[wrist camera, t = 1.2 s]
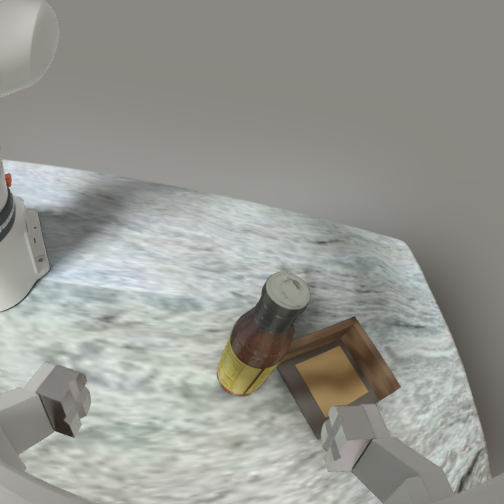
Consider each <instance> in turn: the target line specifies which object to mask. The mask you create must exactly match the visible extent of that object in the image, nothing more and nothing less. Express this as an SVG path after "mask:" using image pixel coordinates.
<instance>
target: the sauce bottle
mask: <svg viewBox="0 0 504 504" xmlns="http://www.w3.org/2000/svg"><path fill="white" fill-rule="evenodd" d="M309 300H310V290H309V288H308V286H307V285H306V283H305V282H304V281H303V280H302V279H300V278H299V277H297V276H295V275H293V274H291V273H288V272H277V273H275V274H273V275H271V276H270V277H269V278H268V279H267V281H266V283H265V284H264V286H263V288H262V296H261V298H260V300H259V302H258V303H257V304H256V306H255V307H254V308H252V309H251V310H250V311H248V312H247V313H245V314H244V315H242V316H241V317H240V318H239V319H238V321H237V322H236V323H235V325H234V327H233V330H232V332H231V335H230V337H229V340H228V342H227V345H226V347H225V350H224V352H223V354H222V357H221V359H220V361H219V364H218V369H217V378H218V381H219V383H220V385H221V386H222V387H223V389H224V390H225V391H226V392H228V393H230V394H232V395H236V396H247V395H249V394H251V393H253V392H254V391H256V390H257V389H259V388H260V387H261V385H262V384H263V383H264V382H265V380H266V379H267V378H268V377H269V375H270V374H271V373H272V372H273V370H274V369H275V368H276V367H277V365H278V364H279V363H280V362H281V360H282V359H283V358H284V356H285V354H286V352H287V351H288V350H289V348H290V346H291V343H292V337H293V334H294V331H295V329H294V325H293V323H294V321H295V319H296V317H297V316H298V315H299V314H301V313H302V312H303V311H304V310H305V308H306V307H307V305H308V303H309Z"/></svg>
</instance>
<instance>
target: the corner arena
mask: <svg viewBox="0 0 504 504" xmlns="http://www.w3.org/2000/svg"><path fill="white" fill-rule="evenodd" d="M277 368H278V370H279V372H280V374H281V376H282V377H283V379H284V381H285V383H286V385H287V386H288V388H289V390H290V392H291V394H292V395H293V397H294V399H295V401H296V403H297V404H298V406H299V408H300V410H301V411H302V413H303V415H304V417H305V418H306V420H307V422H308V424H309V425H310V427H311V429H312V431H313V432H314V434H315V436H316V438H317V439H321V431H322V427H323V424H324V422H325V421H327V420H328V419H329V415H328V413H329V410H330V408H331V407H332V406H338V405H362V404H376V403H377V402H378V401H380V400H381V399H383V398H385V397H386V396H388V395H390V394H391V393H393V392H394V391H396V390H397V389H399V388H400V387H401V386H400V385H399V383H398V381H397V380H396V378H395V377H394V375H393V374H392V372H391V370H390V369H389V367H388V366H387V364H386V363H385V361H384V360H383V358H382V357H381V355H380V354H379V352H378V351H377V349H376V347H375V346H374V344H373V343H372V341H371V340H370V338H369V337H368V335H367V334H366V332H365V331H364V329H363V328H362V327H361V325H360V324H359V322H358V321H357V319H356V318H355V316H354V317H352V318H350V319H347V320H345V321H342V322H340V323H337V324H335V325H332V326H330V327H327V328H325V329H322V330H319V331H317V332H314V333H311V334H309V335H306V336H303V337H301V338H298V339H295V340H292V343H291V346H290V348H289V350H288V351H287V352H286V354H285V356H284V358H283V359H282V360H281V362H280V363H279V364H278V365H277Z"/></svg>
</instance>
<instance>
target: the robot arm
mask: <svg viewBox="0 0 504 504" xmlns="http://www.w3.org/2000/svg"><path fill="white" fill-rule="evenodd" d="M58 42H59V24H58V20H57V17H56V15H55V12H54V11H53V9H52V8H51V6H50V5H49V4H48V3H47V2H46V1H44V0H0V97H3V96H6V95H8V94H11V93H14V92H16V91H18V90H21V89H24V88H26V87H28V86H31V85H34V84H36V83H37V82H38V81H39V80H40V78H41V77H42V76H43V74H44V73H45V72H46V70H47V69H48V67H49V66H50V64H51V62H52V60H53V58H54V56H55V53H56V50H57V46H58ZM10 186H11V174H10V173H8V174H4V168H3V162H2V156H1V148H0V311H3V310H6V309H9V308H11V307H12V306H14V305H16V304H17V303H18V302H20V301H21V300H22V299H23V298H24V297H25V296H26V295H27V294H28V292H29V291H30V290H31V288H32V286H33V285H34V283H35V282H36V281H37V280H38V279H40V278H41V277H42V276H44V275H45V274H46V273H47V272H48V271H49V269H50V265H49V261H48V257H47V253H46V249H45V245H44V240H43V236H42V231H41V226H40V221H39V216H38V213H37V212H36V211H34V210H31V209H26V208H25V204H24V200H23V199H22V198H20V197H18V196H13V195H12V193H11V192H10V189H9V188H8V187H10ZM40 261H42V262H40ZM86 382H87V380H86V376H85V374H84V373H82V372H79V371H75V370H72V369H69V368H66V367H63V366H61V365H57V364H54V363H51V362H49V361H47V362H44V363H43V364H42V365H41V367H40V368H39V369H38V370H37V371H36V373H35V374H34V375H33V376H32V378H31V379H30V380H29V382H28V383H27V384H26V385H25V387H24V388H22V387H19V388H16V389H13V390H11V391H8V392H5V393H3V394H0V504H102V503H99V502H96V501H93V500H90V499H87V498H84V497H81V496H79V495H76V494H73V493H71V492H68V491H66V490H63V489H61V488H59V487H56V486H54V485H52V484H49V483H47V482H45V481H43V480H41V479H39V478H37V477H35V476H32V475H30V474H28V473H27V472H25V469H26V467H25V464H24V463H23V461H22V460H21V458H20V457H19V454H20V453H22V452H23V451H25V450H27V449H28V448H30V447H31V446H33V445H35V444H36V443H38V442H39V441H41V440H42V439H44V438H46V437H47V436H49V435H50V434H52V433H53V432H54V431H56V432H59V433H62V434H64V435H67V436H70V437H73V438H75V437H76V435H77V433H78V431H79V429H80V427H81V425H82V424H81V421H80V419H81V418H83V417H85V416H86V415H87V413H88V411H89V408H90V403H91V396H90V392H89V390H88V389H87V388H86V387H85V384H86ZM328 415H329V419H328V420H327V421H325V422H324V424H323V427H322V431H321V443H322V447H323V448H324V449H325V450H326V451H328V452H327V453H326V455H325V461H326V465H327V469H328V472H337V471H351V470H352V471H351V472H352V473H353V474H354V475H355V476H356V477H357V478H358V479H359V480H360V481H361V482H362V483H363V484H364V485H365V486H366V487H367V488H368V489H369V490H370V491H371V492H372V493H373V494H374V495H375V496H376V497H377V498H378V499H379V500H380V501H381V502H382V503H383V504H504V473H502V474H500V475H499V476H497V477H494V478H492V479H490V480H488V481H486V482H484V483H482V484H480V485H477V486H475V487H473V488H470V489H468V490H466V491H463V492H461V493H458V494H456V495H455V494H454V492H453V490H452V488H451V486H450V484H449V482H448V480H447V478H446V476H445V474H444V472H443V470H442V468H440V467H439V466H437V465H436V464H434V463H433V462H431V461H430V460H428V459H427V458H425V457H424V456H422V455H421V454H419V453H418V452H416V451H415V450H413V449H412V448H410V447H409V446H407V445H406V444H404V443H403V442H401V441H400V440H399V439H397V438H396V437H390V434H389V432H388V430H387V428H386V425H385V423H384V421H383V419H382V417H381V414H380V412H379V410H378V408H377V406H376V405H375V404H362V405H338V406H332V407H331V408H330V410H329V413H328Z"/></svg>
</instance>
